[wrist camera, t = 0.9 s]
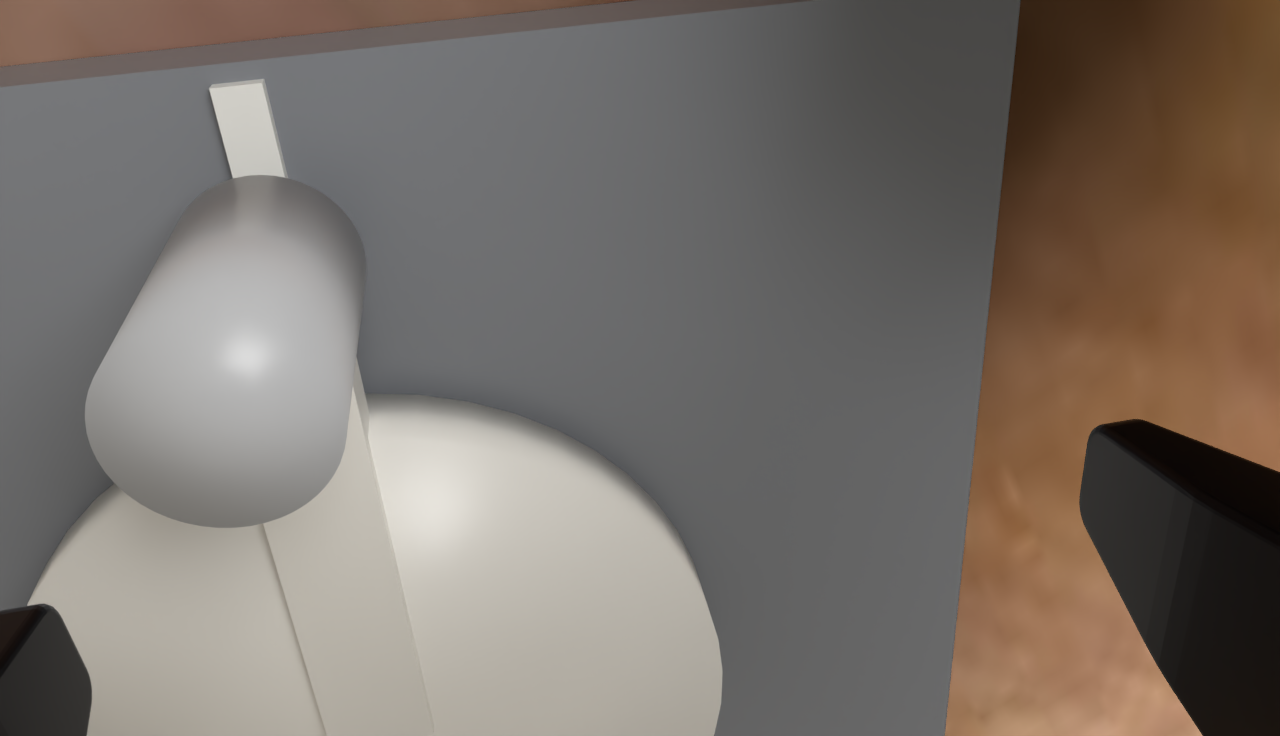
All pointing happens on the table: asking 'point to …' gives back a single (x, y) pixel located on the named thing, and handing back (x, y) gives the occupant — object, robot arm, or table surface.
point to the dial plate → (593, 283)
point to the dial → (350, 524)
